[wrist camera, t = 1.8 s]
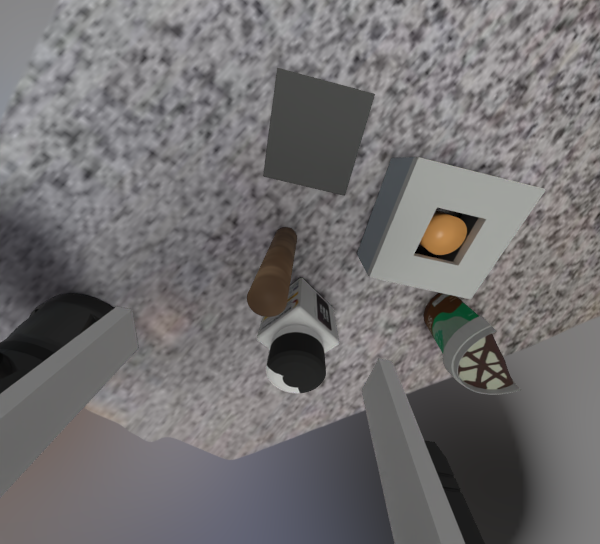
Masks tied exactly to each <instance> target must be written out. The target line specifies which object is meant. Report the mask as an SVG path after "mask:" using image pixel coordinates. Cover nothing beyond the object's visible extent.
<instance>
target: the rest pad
mask: <svg viewBox="0 0 600 544" xmlns="http://www.w3.org/2000/svg"><path fill="white" fill-rule="evenodd" d="M374 95H375V94H373V93H369V92H365V91H361V90H358V89H354V88H350V87H347V86H343V85H339V84H335V83H332V82H328V81H324V80H320V79H317V78H313V77H309V76H306V75H302V74H298V73H294V72H291V71H287V70H283V69H279V68H277V75H276V82H275V90H274V98H273V106H272V113H271V121H270V129H269V136H268V144H267V152H266V160H265V167H264V175H263V176H264V177H268V178H273V179H277V180H281V181H285V182H289V183H294V184H298V185H302V186H306V187H311V188H315V189H319V190H323V191H328V192H332V193H336V194H340V195H345V193H346V190H347V187H348V183H349V180H350V176H351V173H352V170H353V166H354V163H355V159H356V156H357V153H358V149H359V146H360V143H361V139H362V136H363V132H364V129H365V126H366V122H367V119H368V115H369V112H370V109H371V105H372V102H373V99H374Z"/></svg>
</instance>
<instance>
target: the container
mask: <svg viewBox="0 0 600 544" xmlns="http://www.w3.org/2000/svg"><path fill="white" fill-rule="evenodd" d="M257 340H258V341H259V342H260V343H262V344H263V345H264V346H265V347H267V348H268V349H269V350H270V351H269V356H268V360H267V365H266V374H267V377H268V379H269V380H270V381H271V383H272V384H273V385H274V386H275V387H277V388H278V389H280V390H283V391H285V392H289V393H305V392H309V391H311V390H314V389H315V388H317V387H318V386H319V385H320V384H321V383H322V382H323V380H324V379H325V376H326V367H325V354H324V353H326V352H327V351H329V350H331V349H332V348H334V347H335V346H337V345H338V344H339V338H338V331H337V325H336V319H335V313H334V309H333V307H332V306H331V305H330V304H329V303H328V302H327V301H326V300H324V299H323V298H322V297H321V296H320V295H319V294H318V293H317V292H316V291H315V290H314V289H313V288H312V287H311V286H310V285H309V284H308V283H307V282H306V281H305V280H304V279H303V278H299V279H298V280H297V281H296V282H294V283H293V284H292V285H291V286H290V287H289V293H288V300H287V305H286V308H285V310H284V311H283V312H282V313H281V314H279V315H277V316H273V317H265V316H263V318H262V321H261V325H260V328H259V331H258V335H257Z"/></svg>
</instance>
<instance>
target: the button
mask: <svg viewBox="0 0 600 544" xmlns="http://www.w3.org/2000/svg"><path fill="white" fill-rule="evenodd" d="M466 234H467V227H466V225H465V223H464V222H463V221H462V220H461V219H459V218H457V217H454V216H452V215H449V214H447V213H444V212H441V211H435V213H434V215H433V217H432V219H431V221H430V223H429V225H428V227H427V229H426V231H425V233H424V235H423V237H422V239H421V241H420V243H419V244H420V245H422V246H423V247H424V248H426V249H427V250H428V251H430V252H431V253H433V254H436V255H445V254H448V253H451V252H453V251H455V250H456V249H457V248H459V247H460V246H461V244H462V243H463V242H464V240H465V238H466Z"/></svg>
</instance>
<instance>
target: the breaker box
mask: <svg viewBox="0 0 600 544" xmlns="http://www.w3.org/2000/svg"><path fill="white" fill-rule="evenodd" d="M545 190H546V189H542V188H538V187H534V186H530V185H527V184H523V183H519V182H515V181H511V180H507V179H503V178H499V177H495V176H491V175H487V174H483V173H479V172H475V171H471V170H467V169H463V168H459V167H455V166H451V165H447V164H443V163H440V162H436V161H432V160H428V159H424V158H420V157H410V158H391V161H390V164H389V166H388V169H387V172H386V175H385V178H384V180H383V183H382V186H381V189H380V191H379V194H378V197H377V200H376V202H375V205H374V208H373V211H372V214H371V216H370V219H369V222H368V225H367V227H366V230H365V233H364V236H363V238H362V241H361V244H360V247H359V250H358V252H357V255H358V257H359V259H360V261H361V262H362V264H363V266H364V268H365V270H366V272H367V274H368V276H369V278H373V279H378V280H383V281H387V282H392V283H397V284H401V285H406V286H411V287H415V288H420V289H425V290H429V291H434V292H439V293H443V294H448V295H453V296H457V297H462V298H467V299H471V298H472V297H473V295H474V294H475V292H476V291H477V290H478V288H479V287H480V285H481V284H482V282H483V281H484V279H485V278H486V276H487V275H488V273H489V272H490V271H491V269H492V268H493V266H494V265H495V263H496V262H497V260H498V259H499V257H500V256H501V255H502V253H503V252H504V250H505V249H506V247H507V246H508V244H509V243H510V241H511V240H512V238H513V237H514V236H515V234H516V233H517V231H518V230H519V228H520V227H521V225H522V224H523V222H524V221H525V219H526V218H527V217H528V215H529V214H530V212H531V211H532V209H533V208H534V206H535V205H536V203H537V202H538V201H539V199H540V198H541V196H542V195H543V193H544V192H545ZM437 207H438V208H442V209H446V210H450V211H454V212H459V213H463V214H462V216H461V218H460V219H461V220H462V221H463V222H464V223H465V225H466V227H467V234H466V238H465V240H464V242H463V243H462V244H461V246H460V247H459V248H457V249H456V250H455V251H453V252H451V253H448V254H445V255H440V256H439V258H434V257H429V256H425V255H421V254H416V253H415V251H416V249H417V247H418V245H419V243H420V241H421V239H422V237H423V235H424V233H425V231H426V229H427V227H428V225H429V223H430V221H431V219H432V217H433V215H434V213H435V211H436V209H437Z"/></svg>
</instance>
